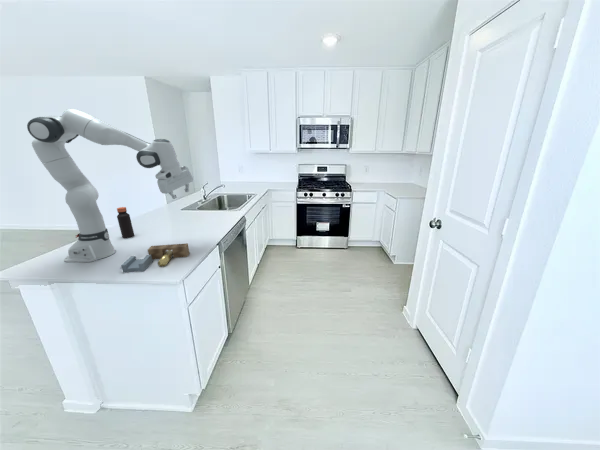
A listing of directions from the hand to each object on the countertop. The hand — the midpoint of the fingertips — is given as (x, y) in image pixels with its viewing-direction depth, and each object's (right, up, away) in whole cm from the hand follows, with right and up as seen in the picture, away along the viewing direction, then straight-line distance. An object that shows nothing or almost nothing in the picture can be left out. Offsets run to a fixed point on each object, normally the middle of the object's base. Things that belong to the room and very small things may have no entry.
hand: (181, 194), depth 136 cm
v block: (-16, -38, -13) cm, 43 cm away
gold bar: (-4, -36, -7) cm, 37 cm away
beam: (-5, -34, -1) cm, 35 cm away
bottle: (-49, -25, +28) cm, 62 cm away
